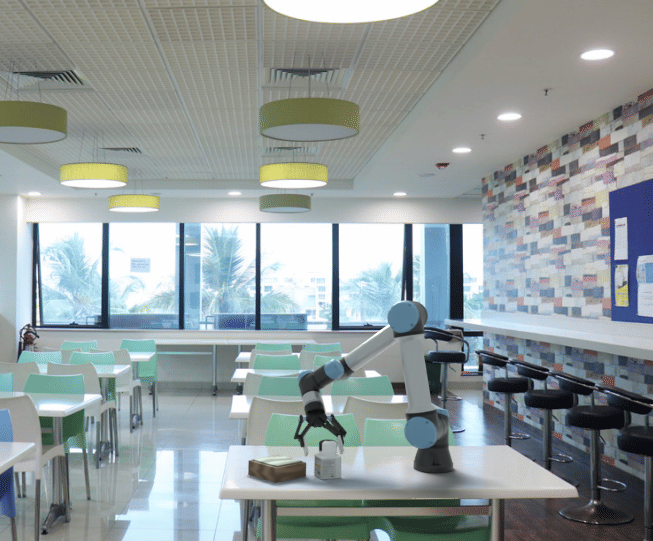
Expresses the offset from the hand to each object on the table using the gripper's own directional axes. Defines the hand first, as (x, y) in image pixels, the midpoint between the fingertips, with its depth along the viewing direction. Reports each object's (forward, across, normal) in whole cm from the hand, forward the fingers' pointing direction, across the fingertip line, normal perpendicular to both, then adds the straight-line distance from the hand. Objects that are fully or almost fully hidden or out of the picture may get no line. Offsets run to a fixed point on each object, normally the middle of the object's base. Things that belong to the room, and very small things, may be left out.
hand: (324, 453), depth 250 cm
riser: (+2, +17, -9) cm, 19 cm away
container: (+7, -1, -5) cm, 8 cm away
